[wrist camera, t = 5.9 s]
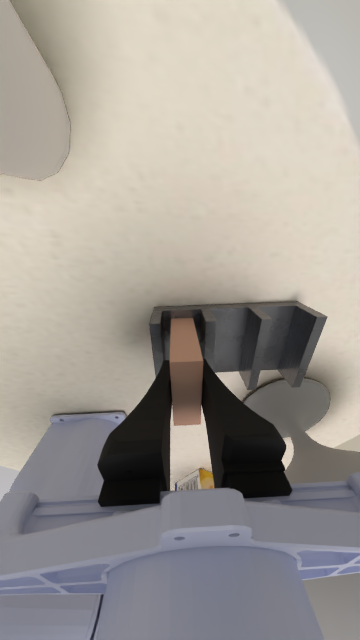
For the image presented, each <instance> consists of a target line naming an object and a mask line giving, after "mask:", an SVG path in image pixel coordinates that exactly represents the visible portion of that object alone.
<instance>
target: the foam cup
mask: <svg viewBox="0 0 360 640" xmlns="http://www.w3.org/2000/svg"><path fill="white" fill-rule="evenodd" d="M69 142H70V121H69V117H68V114H67V110H66V107H65V103H64V100H63V96H62V92H61V90H60V88H59V87H58V85H57V83H56V81H55V79H54V77H53V75H52V74H51V72H50V70H49V68H48V67H47V65H46V63H45V61H44V60H43V58H42V56H41V54H40V53H39V51H38V49H37V47H36V46H35V44H34V42H33V41H32V39H31V37H30V35H29V34H28V32H27V30H26V28H25V27H24V25H23V23H22V21H21V20H20V18H19V16H18V15H17V13H16V11H15V9H14V8H13V6H12V4H11V2H10V1H9V0H0V174H3V175H8V176H14V177H19V178H26V179H32V180H39V181H41V180H43V179H45V178H47V177H49V176H51V175H53V174H55V173H58V172H59V170H60V168H61V166H62V164H63V163H64V161H65V159H66V157H67V155H68V154H69Z"/></svg>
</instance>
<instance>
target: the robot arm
mask: <svg viewBox="0 0 360 640" xmlns="http://www.w3.org/2000/svg"><path fill="white" fill-rule="evenodd" d="M201 404H202V408H203V413H204V417H205V422H206V428H207V435H208V442H209V449H210V457H211V464H212V472H213V480H214V488H213V489H196V490H179V491H170V419H171V408H172V391H171V376H170V360H164V361H163V363H162V366H161V368H160V370H159V373H158V375H157V377H156V379H155V380H154V382H153V384H152V385H151V387H150V389H149V390H148V392H147V393H146V395H145V396H144V398H143V399H142V400H141V401H140V403H139V404H138V405H137V406H136V408H135V409H134V410H133V411H132V412H131V413H130V414H129V415H128V416H127V417H126V415H125V413H123V412H112V413H92V414H72V415H54V416H52V417H51V418H50V421H51V423H52V424H51V426H50V427H49V429H48V430H47V432H46V433H45V435H44V436H43V438H42V439H41V441H40V442H39V444H38V445H37V447H36V448H35V450H34V451H33V453H32V454H31V456H30V457H29V459H28V461H27V462H26V464H25V465H24V467H23V468H22V470H21V471H20V473H19V474H18V476H17V478H16V479H15V481H14V483H13V485H12V486H11V489H10V491H9V492H8V493H6V494H5V495H4V496H3V498H2V500H1V501H0V640H325V639H324V637H323V634H322V631H321V629H320V626H319V624H318V621H317V618H316V616H315V613H314V610H313V608H312V605H311V602H310V600H309V597H308V594H307V592H306V589H305V586H304V584H303V581H302V580H308V579H315V578H323V577H330V576H338V575H345V574H353V573H360V472H357V473H353V474H351V475H349V476H348V478H347V480H346V481H335V482H317V483H300V484H290V483H289V481H288V479H287V477H286V475H285V473H284V471H285V467H284V465H283V463H282V461H281V460H282V458H283V455H284V453H285V450H286V444H285V442H284V440H283V438H282V436H281V435H280V433H279V432H278V430H277V429H276V427H275V426H274V424H272V423H271V422H269V421H267V420H266V419H264V418H263V417H261V416H260V415H258V414H257V413H255V412H254V411H253V410H251V409H250V408H249V407H248V406H246V405H245V404H244V403H243V402H241V401H240V400H239V399H238V398H237V397H236V396H235V395H234V394H233V393H232V392H231V391H230V390H229V389H228V388H227V387H226V386H225V385H224V384H223V383H222V381H221V380H220V379H219V378H218V377H217V375H216V374H215V373H214V371H213V370H212V368H211V367H210V365H209V364H208V362H207V361H206V359H203V379H202V402H201Z"/></svg>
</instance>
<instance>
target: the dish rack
mask: <svg viewBox="0 0 360 640" xmlns="http://www.w3.org/2000/svg"><path fill="white" fill-rule="evenodd" d="M175 318H193V320H194V325H195V329H196V333H197V337H198V341H199V345H200V349H201V354H202V358H203V359H206V361H207V362H208V364H209V365H210V367H211V368H212V370H213V371H214V372H234V371H239V373H240V375H241V377H242V379H243V381H244V384H245V386H246V388H247V390H253V389H256V386H257V382H258V378H259V374H260V370H278V371H279V372H280V373H281V375H282V376H283V377H284V378H285V380H286V381H287V382H288V384H289V385H290V386H291V387H292V388H295V387H300V386H301V383H302V381H303V378H304V376H305V373H306V370H307V368H308V365H309V363H310V360H311V358H312V355H313V353H314V350H315V347H316V345H317V342H318V340H319V337H320V335H321V332H322V330H323V327H324V324H325V322H326V319H327V316H325V315H323V314H321V313H319V312H317V311H315V310H313V309H311V308H309V307H307V306H305V305H303V304H301V303H299V302H298V301H296V302H270V303H245V304H219V305H193V306H167V307H154V309H153V313H152V316H151V320H150V323H149V326H150V334H151V342H152V350H153V358H154V367H155V375H156V377H157V375H158V373H159V370H160V368H161V366H162V363H163V361H164V360H170V334H171V319H175Z"/></svg>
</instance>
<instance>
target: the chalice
mask: <svg viewBox="0 0 360 640" xmlns="http://www.w3.org/2000/svg"><path fill="white" fill-rule="evenodd" d="M244 404H245V405H246V406H248V407H249V408H250V409H251V410H253V411H254V412H255V413H257V414H258V415H260V416H261V417H263V418H264V419H266V420H267V421H269V422H271V423H272V424H274V426H275V427H276V429H277V430H278V432H279V433H280V435H281V436H282V438H286V437H291V439H292V443H293V446H294V455H293V458H292V461H291V463H290V464H289V466H288V468H287V469H286V470H285V472H284V473H285V475H286V477H287V479H288V481H289V483H290V484H300V483H317V482H335V481H346V480H347V478H348V476H349V475H351V474H353V473H357V472H360V452H355V451H346V450H339V449H333V448H329V447H326V446H323V445H321V444H319V443H317V442H316V441H314V440H312V439H311V438H310V437H309V436H308V435H307V434H306V433H305V431H306V430H307V429H309V428H311V427H312V426H314V425H315V424H316V423H317V422H319V421H320V420H321V419H322V418H323V416H324V415H325V414H326V412H327V410H328V408H329V404H330V393H329V391H328V390H327V388H326V387H325V386H324V385H323V384H321V383H320V382H318V381H315V380H312V379H307V378H303V381H302V383H301V386H300V387H295V388H292V387H291V386H290V385H289V384H288V382H287V381H286V380H285V379H283V380H279V381H275V382H273V383H270V384H267V385H265V386H264V387H262V388H260V389H258V390H256V391H255V392H254V393H253V394H251V395H250V396H249V397H248V398H247V399H246V400H245V401H244ZM302 581H303V584H304V586H305V589H306V592H307V594H308V597H309V600H310V602H311V605H312V608H313V610H314V613H315V616H316V618H317V621H318V624H319V626H320V629H321V631H322V634H323V637H324V639H325V640H360V573H353V574H345V575H338V576H330V577H323V578H315V579H308V580H302Z"/></svg>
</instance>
